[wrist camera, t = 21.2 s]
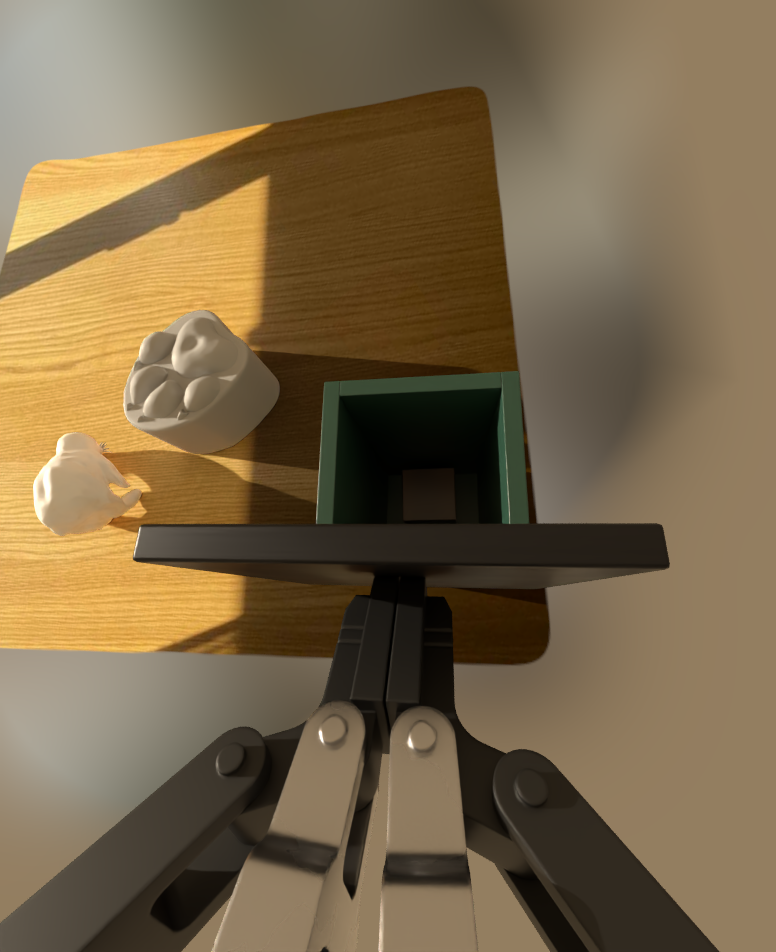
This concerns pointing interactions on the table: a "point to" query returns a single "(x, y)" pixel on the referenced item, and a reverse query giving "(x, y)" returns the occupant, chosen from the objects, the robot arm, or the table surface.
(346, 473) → the green box
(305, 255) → the table surface
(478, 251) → the table surface
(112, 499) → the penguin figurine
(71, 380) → the table surface
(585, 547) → the box lid
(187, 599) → the table surface
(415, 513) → the block
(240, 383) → the lumpy-topped squat cylinder
